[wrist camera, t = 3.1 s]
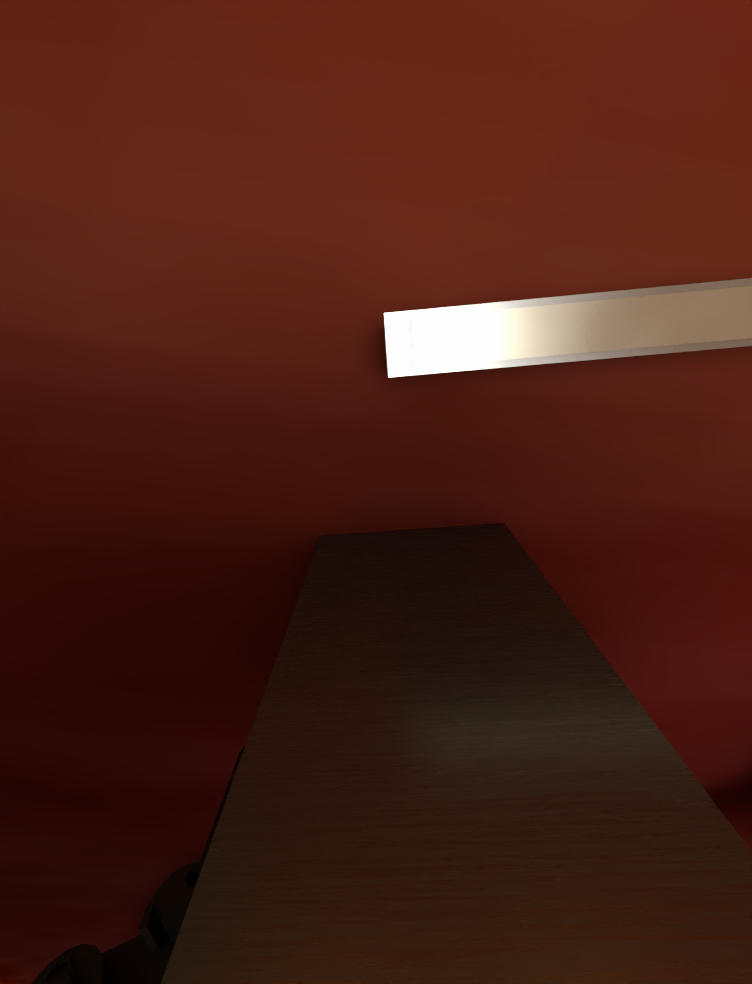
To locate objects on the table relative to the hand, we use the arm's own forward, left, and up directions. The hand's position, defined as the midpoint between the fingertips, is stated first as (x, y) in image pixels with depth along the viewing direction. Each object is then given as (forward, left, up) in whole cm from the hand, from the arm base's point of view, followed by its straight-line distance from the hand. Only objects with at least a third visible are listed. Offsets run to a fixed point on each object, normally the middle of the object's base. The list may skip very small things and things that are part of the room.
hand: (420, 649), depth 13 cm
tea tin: (0, 0, -1) cm, 1 cm away
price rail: (+7, +10, 0) cm, 12 cm away
